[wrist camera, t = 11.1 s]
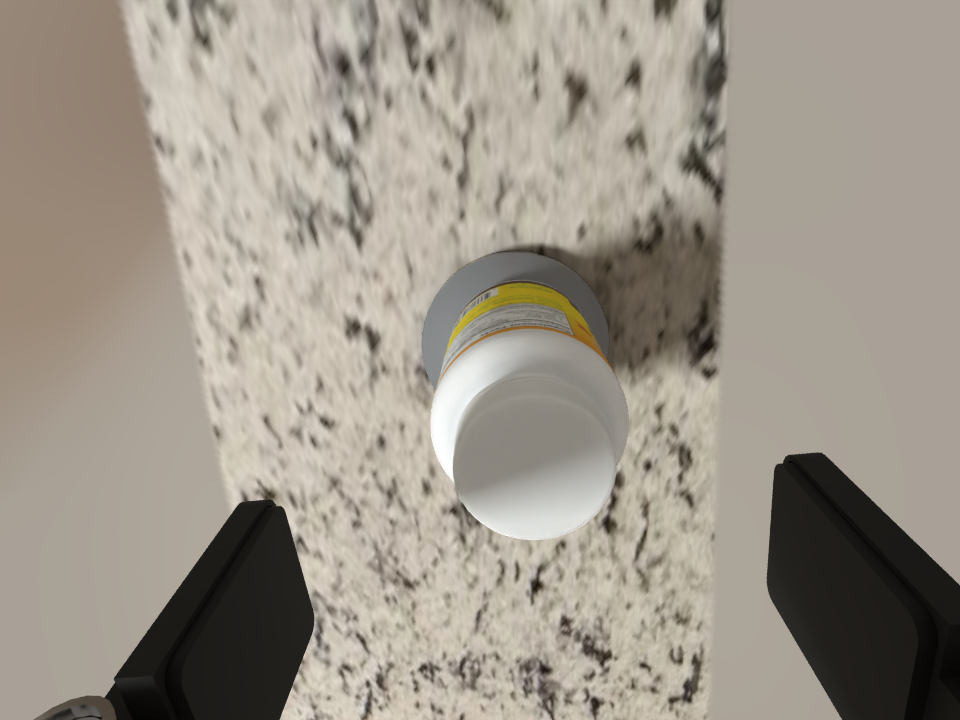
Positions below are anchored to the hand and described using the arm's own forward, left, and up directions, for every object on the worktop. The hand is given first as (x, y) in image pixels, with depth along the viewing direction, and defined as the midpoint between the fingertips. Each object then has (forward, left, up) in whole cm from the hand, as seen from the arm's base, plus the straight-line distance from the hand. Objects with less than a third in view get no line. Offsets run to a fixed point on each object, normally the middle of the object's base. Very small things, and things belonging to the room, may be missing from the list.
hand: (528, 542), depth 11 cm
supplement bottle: (0, 0, -13) cm, 13 cm away
